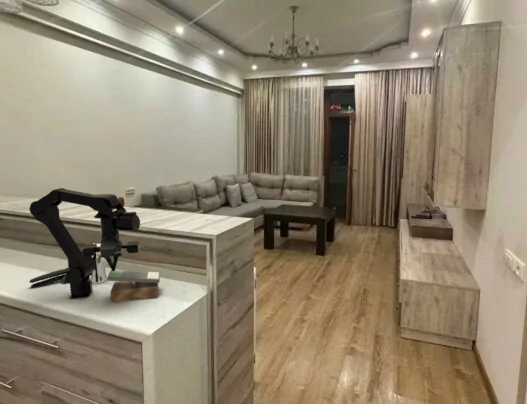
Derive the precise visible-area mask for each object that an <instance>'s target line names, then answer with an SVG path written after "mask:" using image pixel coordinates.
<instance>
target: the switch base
mask: <svg viewBox="0 0 527 404" xmlns="http://www.w3.org/2000/svg"><path fill="white" fill-rule="evenodd" d="M158 297H159V283H152V282H135V284H133V283H132V282H126V281H113V285H112V287H111V290H110V303H118V302H121V303H122V302H128V301H136V300H138V301H139V300H148V299H157V298H158Z"/></svg>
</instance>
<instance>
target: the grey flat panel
mask: <svg viewBox="0 0 527 404" xmlns="http://www.w3.org/2000/svg"><path fill="white" fill-rule="evenodd" d="M160 280H161V272H158V271H135V270H116V269H115V271H112V270H111V269H110V271H109V273H108V275H107V280H106V282H119V281H126V282H132V283H133V284H135V282H152V283H158V284H159V283H160V282H161V281H160Z"/></svg>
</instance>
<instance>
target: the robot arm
mask: <svg viewBox="0 0 527 404" xmlns="http://www.w3.org/2000/svg"><path fill="white" fill-rule="evenodd" d="M63 202H65V203H69V204H75V205H81V206H85V207H89V208H91V209H92V210H93V211H95V212H97V213H96V214H95V215H94V216H93V218H94V219H100V220H99V221H100V230H101V241H100V243H101V245H100V247H97V243H91V244H86V245H84V247H83V248H82V250H81V249H80V247H79V245H78V244H77V242H76V241H75V240H74V238H73V237H72V235H71V233H70V232H69V231H68V229H67V227H66V226H65V224H64V223H63V221H62V219H60V208H59V207H58V206H59V205H61V204H62V203H63ZM29 212H30V214H31V215H32V217H34V219H35V220H36V221H38V222H40V223H41V224H43V225H45V227H46V228H47V229H48V231H49V232H50V234H51V235H52V237H53V238H54V240H55V242H57V244H58V246H59V247H60V249H61V250H62V252H63V253H64V255H65V257H66V258H67V268H69V270H70V273H69V274H68V275H67V276H66V277H65V281H66V284H69V288H70V296H69V299H83V298H89V297H90V295H91V294H92V293H93V290H94V289H93V283H92V281H91V276H92V273H93V271H94V270H95V266H96V264H95V262H94V261H95V260H94V259H93V258H92V255H93V254H94V252H100V253H101V255H100V257H103V258H105V259H106V263H107V264H108V265H109V267H110V271H111V270H112V271H115V270H116V268H117V264H118V261H119V257H122V256H123V255H124V251H126V252H127V253H128V254H137V253H139V252H140V249H141V246H140V245H141V244H140V242H139V241H138V240H134V241H128V242H127V244H123V243H122V240H120V231H123V232H138V231H139V229H140V226H141V219H140V217H139V215H137V212H136V211H127V209H126V208H125V207H124V206H123V204H122V203H121V202H120V201H119V198H118V197H117V195H115V194H114V193H112V194H111V193H101V194H92V193H88V192H87V193H86V192H81V191H77V190H71V189H66V188H65V187H64V188H63V187H60V188H56V189H53V190H52V189H51V191H50V192H49V193H47V194H46V195H44V196H42V197H41V198H39V199H38V200H35V201H32V202H31V203H30V205H29Z"/></svg>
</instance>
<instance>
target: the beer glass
mask: <svg viewBox="0 0 527 404" xmlns="http://www.w3.org/2000/svg"><path fill="white" fill-rule="evenodd" d="M96 244H97V247H100V245H101V242H100V243H96ZM100 255H101V253H100V252H94V254H93V255H92V258H93V259H94V260H95V261H94V262H95V264H96V266H95V270H94V271H93V273H92V275H90V280H91V281H92V284H95V285H96V284H102V283H105V282H107V277H108V275H107V273H106V266H107V261H106V259H105V258H103V257H100Z"/></svg>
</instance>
